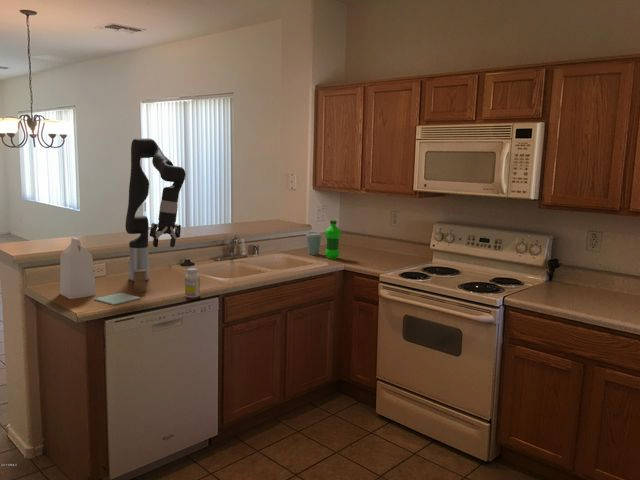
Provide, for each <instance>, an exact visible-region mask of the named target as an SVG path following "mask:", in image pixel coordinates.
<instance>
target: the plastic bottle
mask: <svg viewBox="0 0 640 480" xmlns="http://www.w3.org/2000/svg"><path fill="white" fill-rule="evenodd" d="M337 221H338V220H334V219H333V220H330V221H329V224H330V226H329V227H327V228H326V229H325V233H324V234H325V235H324V236H325V237H326V249H325V252H324V255H325V256H326V258H328V259H329V260H336V259H337V258H339V256H340V253H341V252H340V250H339V249H340V248H339V243H340V242H339V241H340V238H341V235H342V233H341V232H342V231H341V229H339V228H338V227H337Z"/></svg>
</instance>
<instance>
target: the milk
mask: <svg viewBox="0 0 640 480" xmlns="http://www.w3.org/2000/svg"><path fill="white" fill-rule="evenodd" d="M59 257H60V259H59V260H60V261H59V262H60V263H59V265H60V266H59V268H60V269H59V270H60V271H59V282H60V283H59V294H60V295H62V296H63V297H65V298H67V299H69V300H72V299H80V298H85V297H92V296H96V293H97V292H96V282H95V271H94V270H95V269H94V260H93V259H94V258H93V257H94V256H93V255H92V253H91V252H90V251H88V250H87V247H85V246H84V245H83V244H82V243H81V239H79V238H77V237H71V241H70V244H69V245H68V246H67V247H65V249H63V251H62V252H61V253H60V256H59Z"/></svg>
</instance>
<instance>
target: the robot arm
mask: <svg viewBox="0 0 640 480" xmlns="http://www.w3.org/2000/svg"><path fill="white" fill-rule="evenodd" d="M150 158H152V160H151V162H152V166H153V167H154V168H155V169H156V170H157V171H158V173H159V176H160V178H161V180H162V181H165V182H169V183H170V182H171V183H172V185H169V186H165V187H163V189H162V191H161V200H160V203H159V204H160V205H159V211H158V223H154V222H152V223H151V225H150V224H149V219H148V216H146V215H136V213H137V211H138V209H140V207H141V206H142V204H144V202H145V201H146V200H147V198H148V196H149V193H150V191H149V190H150V181H149V179H148V177H147V175H146V174H145V172H144V171H143V169H142V166H141V159H150ZM185 180H186V170H185V169H184V168H183V167H181V166H176V165H174V164H173V162H172V161H171V160H170V159H169V158H168V157H167V156H166V155H165V154H164V153H163V151H162V150H161V148H160V147H159V145H158V144H157V142H156V141H155V140H154V139H153V138H148V137H147V138H133V139H132V141H131V145H130V175H129V184H128V185H129V186H128V202H127V210H126V211H127V212H126V217H125V226H124V227H125V231H126V233H127V234H129V235H137V234H139V236H137V237H136V238H134V239H132V240H130V241H129V242H128V245H129V246H128V247H129V248H128V249H129V250H128V251H129V260H128V280H130V281H133V282H134V270H137V269H145V275H146V281H149V279H150V276H149V275H150V274H149V237H150V238H153V239H152V246H153V247H154V248H158V247H159V240H160V239H159V238H160V237H161V236H162V235H166V234H167V235H169V236H170V243H169V247H170V248H174V247H175V245H176V240H177V239H178V238H179V239H180V238H181V231H182V230H181V229H182V228H181V227H182V226H181V224H179V223H176V221H177V215H178V208H179V195H180V192H181V189H182V186H183V184H184V182H185ZM149 225H150V228H149ZM149 229H150V231H149Z"/></svg>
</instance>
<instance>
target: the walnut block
mask: <svg viewBox="0 0 640 480" xmlns="http://www.w3.org/2000/svg"><path fill="white" fill-rule="evenodd" d="M146 281H147V280H146V275H145V269H137V270H134V281H133V282H134V293H146V291H147V288H146V287H147V286H146V285H147V283H146Z"/></svg>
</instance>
